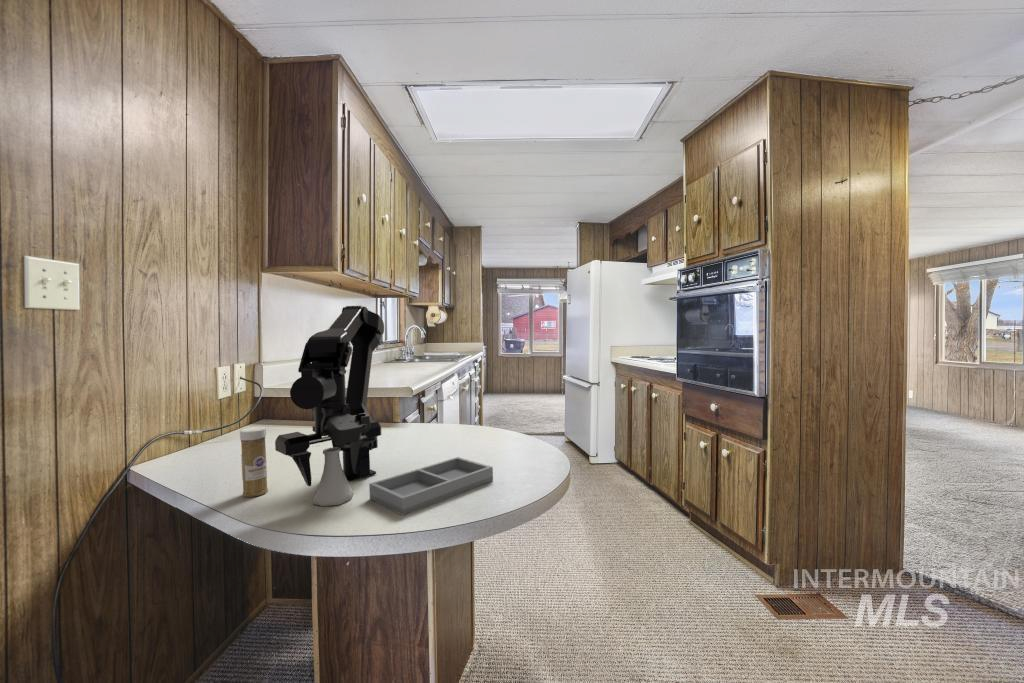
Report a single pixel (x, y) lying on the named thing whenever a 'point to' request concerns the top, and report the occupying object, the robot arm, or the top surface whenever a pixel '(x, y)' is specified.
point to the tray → (429, 484)
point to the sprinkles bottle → (254, 461)
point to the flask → (333, 481)
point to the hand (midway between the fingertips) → (333, 479)
